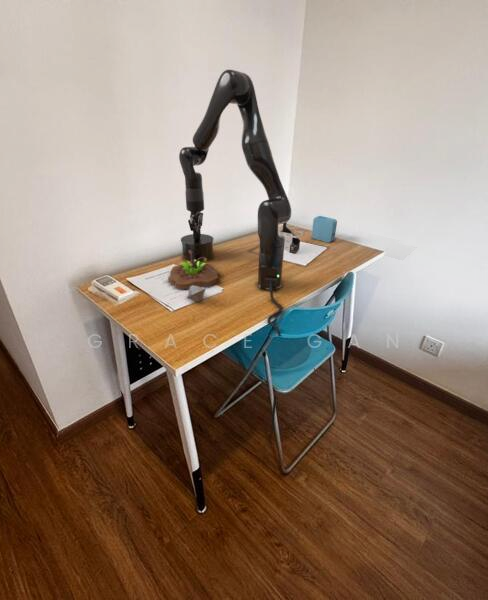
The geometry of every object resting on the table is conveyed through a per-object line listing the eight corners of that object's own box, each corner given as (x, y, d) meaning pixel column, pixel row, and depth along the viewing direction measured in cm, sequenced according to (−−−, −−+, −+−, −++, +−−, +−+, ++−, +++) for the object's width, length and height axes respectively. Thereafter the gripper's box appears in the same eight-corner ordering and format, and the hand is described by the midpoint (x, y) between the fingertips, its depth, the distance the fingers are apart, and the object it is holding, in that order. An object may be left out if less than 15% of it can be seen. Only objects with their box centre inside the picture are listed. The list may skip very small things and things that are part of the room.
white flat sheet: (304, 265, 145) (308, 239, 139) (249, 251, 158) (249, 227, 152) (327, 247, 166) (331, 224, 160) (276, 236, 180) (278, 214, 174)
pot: (208, 264, 142) (207, 246, 138) (178, 261, 144) (177, 243, 140) (216, 253, 154) (216, 236, 150) (188, 251, 156) (187, 234, 152)
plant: (213, 265, 141) (212, 241, 136) (223, 285, 125) (222, 258, 120) (166, 270, 136) (163, 245, 130) (170, 291, 120) (167, 263, 114)
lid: (208, 248, 138) (207, 234, 135) (175, 245, 140) (174, 231, 137) (217, 237, 151) (216, 224, 148) (187, 235, 153) (186, 222, 150)
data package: (334, 241, 176) (337, 219, 170) (330, 243, 173) (333, 221, 167) (315, 236, 182) (317, 215, 176) (311, 238, 179) (313, 216, 173)
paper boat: (182, 290, 118) (204, 280, 121) (190, 306, 119) (212, 295, 121) (184, 287, 107) (209, 276, 109) (193, 304, 107) (217, 293, 110)
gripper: (191, 194, 143) (194, 232, 151) (180, 201, 130) (183, 242, 139) (208, 195, 142) (209, 233, 150) (198, 202, 130) (200, 243, 138)
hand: (197, 237), depth 145 cm, fingers closed on lid, 2 cm apart
